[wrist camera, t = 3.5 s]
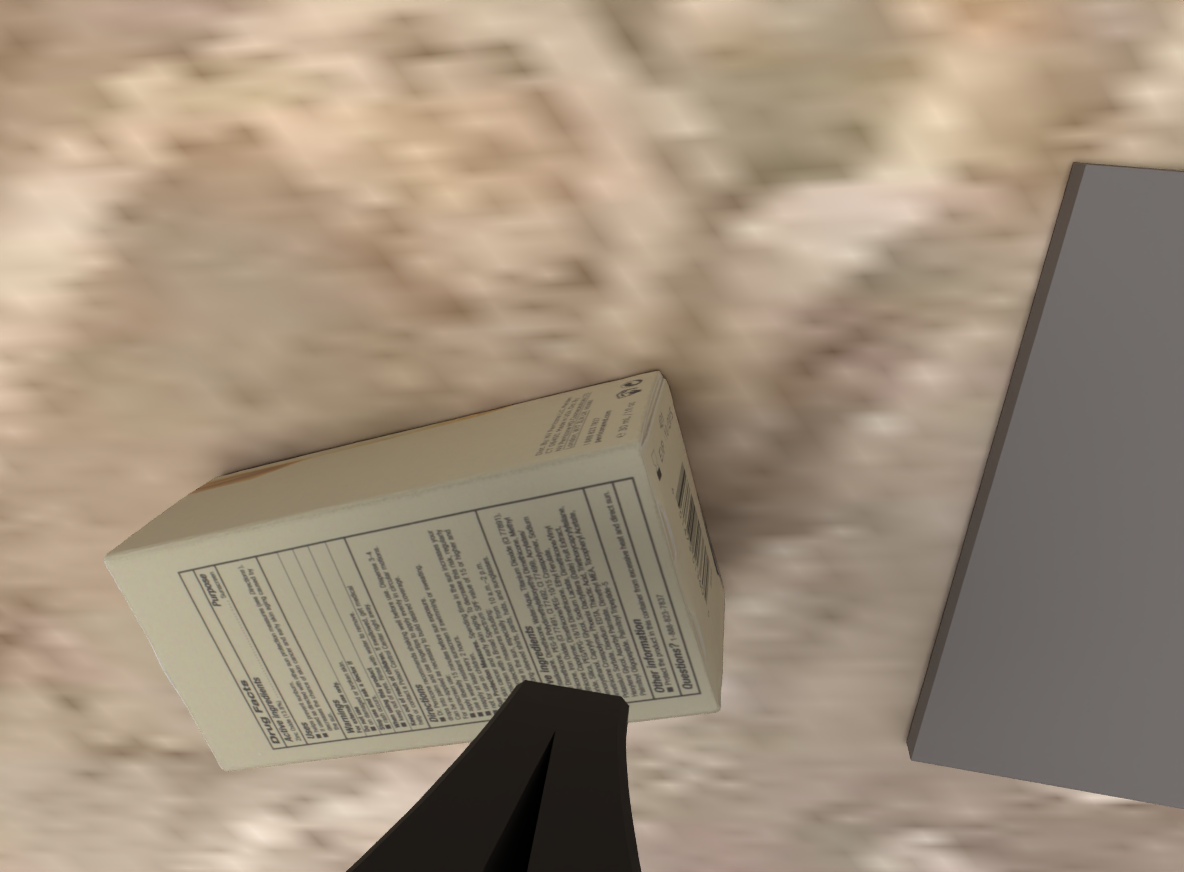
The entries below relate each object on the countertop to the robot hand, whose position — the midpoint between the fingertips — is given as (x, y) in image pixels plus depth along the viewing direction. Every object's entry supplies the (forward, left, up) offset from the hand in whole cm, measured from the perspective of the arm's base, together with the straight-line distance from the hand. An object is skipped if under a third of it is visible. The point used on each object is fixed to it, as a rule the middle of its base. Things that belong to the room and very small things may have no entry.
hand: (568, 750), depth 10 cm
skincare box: (-1, -1, -7) cm, 7 cm away
